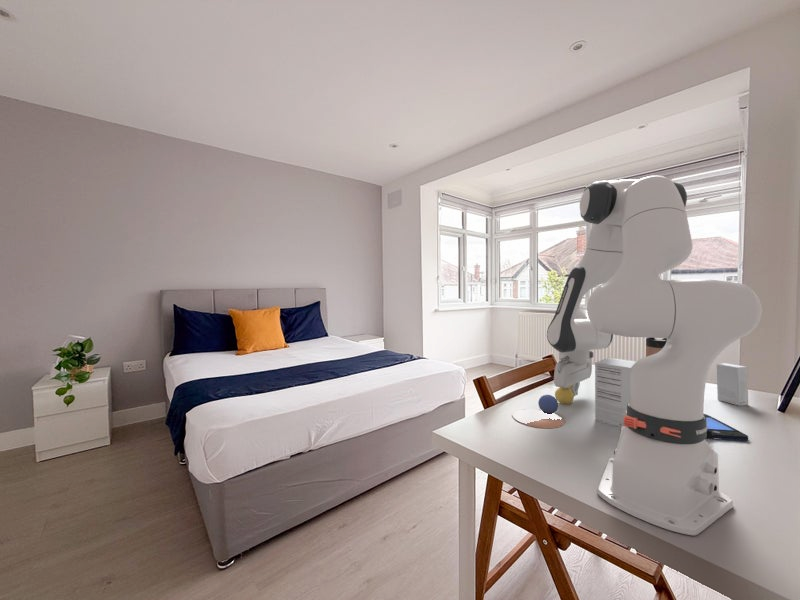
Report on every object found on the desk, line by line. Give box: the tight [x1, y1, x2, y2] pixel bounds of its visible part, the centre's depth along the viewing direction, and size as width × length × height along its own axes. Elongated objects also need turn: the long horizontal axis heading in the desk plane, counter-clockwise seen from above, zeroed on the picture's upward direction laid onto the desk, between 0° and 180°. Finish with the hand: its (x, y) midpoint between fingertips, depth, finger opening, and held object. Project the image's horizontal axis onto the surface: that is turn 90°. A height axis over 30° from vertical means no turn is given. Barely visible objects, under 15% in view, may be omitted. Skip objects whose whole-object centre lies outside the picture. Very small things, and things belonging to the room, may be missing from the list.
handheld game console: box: [703, 413, 749, 442], centre depth 88 cm, size 16×13×9 cm
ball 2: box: [554, 387, 575, 405], centre depth 107 cm, size 6×6×6 cm
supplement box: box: [594, 357, 637, 428], centre depth 93 cm, size 10×9×17 cm
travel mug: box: [645, 337, 667, 357], centre depth 111 cm, size 8×8×20 cm
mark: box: [525, 418, 565, 429], centre depth 96 cm, size 14×14×1 cm
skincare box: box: [716, 362, 749, 407], centre depth 106 cm, size 6×4×12 cm
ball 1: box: [537, 394, 559, 414], centre depth 100 cm, size 6×6×6 cm
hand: (573, 395), depth 110 cm, fingers closed
